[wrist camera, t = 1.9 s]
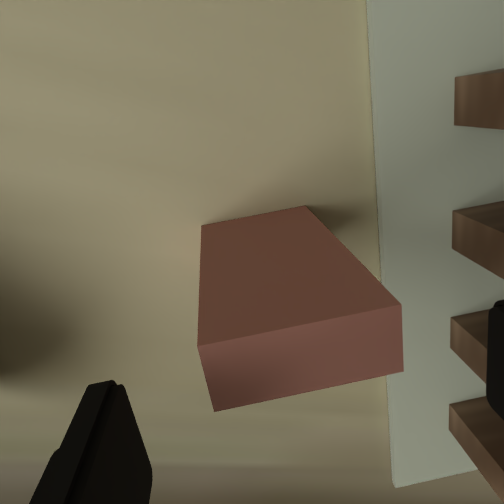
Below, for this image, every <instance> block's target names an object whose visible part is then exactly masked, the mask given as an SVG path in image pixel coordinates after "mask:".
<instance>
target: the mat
mask: <svg viewBox="0 0 504 504" xmlns="http://www.w3.org/2000/svg"><path fill="white" fill-rule="evenodd" d="M366 3H367V21H368V40H369V58H370V77H371V96H372V114H373V133H374V152H375V170H376V189H377V207H378V226H379V245H380V263H381V282H382V285H383V286H384V287H385V288H386V289H387V290H388V291H389V292H390V293H391V294H392V295H393V296H394V297H395V298H396V299H397V300H398V301H399V302H400V303H401V304H402V332H403V361H404V372H399V373H394V374H390V375H387V394H388V412H389V431H390V450H391V468H392V482H393V484H394V486H395V488H398V487H402V486H407V485H411V484H415V483H420V482H424V481H429V480H433V479H438V478H442V477H446V476H451V475H455V474H460V473H464V472H468V471H473V470H477V469H478V468H477V467H476V466H475V464H474V463H473V462H472V460H471V459H470V458H469V456H468V455H467V454H466V452H465V451H464V450H463V448H462V447H461V446H460V444H459V443H458V441H457V440H456V439H455V437H454V436H453V435H452V433H451V432H450V431H449V404H451V403H456V402H460V401H465V400H469V399H474V398H479V397H483V396H486V384H485V383H484V382H483V381H482V380H481V379H480V378H479V377H478V376H477V375H476V374H475V373H474V372H473V371H472V370H471V369H470V368H469V367H468V366H467V365H466V364H465V362H464V361H463V360H462V359H461V358H460V357H459V356H458V355H457V354H456V353H455V352H454V351H453V350H452V349H451V348H450V318H451V317H453V316H458V315H463V314H468V313H473V312H477V311H482V310H487V309H491V308H493V306H494V304H495V302H497V301H499V300H504V279H502V278H500V277H499V276H497V275H495V274H494V273H492V272H490V271H488V270H487V269H485V268H483V267H482V266H480V265H478V264H477V263H475V262H473V261H472V260H470V259H468V258H467V257H465V256H463V255H461V254H460V253H458V252H456V251H455V250H453V249H452V211H453V210H458V209H463V208H469V207H474V206H479V205H484V204H489V203H494V202H499V201H504V130H500V129H489V128H478V127H467V126H456V125H454V89H455V77H459V76H464V75H470V74H475V73H481V72H486V71H492V70H497V69H502V68H504V0H366Z"/></svg>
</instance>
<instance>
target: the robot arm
mask: <svg viewBox="0 0 504 504" xmlns="http://www.w3.org/2000/svg"><path fill="white" fill-rule="evenodd" d="M486 397H487V400H488V403H489V405H490V406H491V408H492V409H493V410H494V411H495V412H496V413H497V414H498V415H499V416H500V417H501V418H502V419H503V420H504V300H499V301H497V302H495V304H494V306H493V308H491V309H490V310H489V314H488V341H487V372H486ZM151 487H152V468H151V464H150V461H149V458H148V455H147V452H146V449H145V446H144V443H143V440H142V437H141V434H140V431H139V428H138V426H137V423H136V420H135V417H134V414H133V411H132V408H131V405H130V402H129V399H128V396H127V393H126V390H125V387H124V386H123V385H122V384H120V385H117V384H116V382H115V381H114V380H110V381H105V382H100V383H95V384H90V385H88V387H87V388H86V391H85V393H84V395H83V397H82V399H81V402H80V404H79V406H78V408H77V410H76V413H75V415H74V417H73V419H72V421H71V424H70V426H69V428H68V430H67V432H66V435H65V437H64V439H63V441H62V443H61V446H60V448H59V449H57V450H56V451H55V452H54V453H53V455H52V456H51V458H50V460H49V462H48V464H47V467H46V469H45V471H44V473H43V475H42V477H41V479H40V481H39V484H38V486H37V488H36V490H35V492H34V494H33V496H32V499H31V501H30V503H29V504H149V499H150V493H151Z"/></svg>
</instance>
